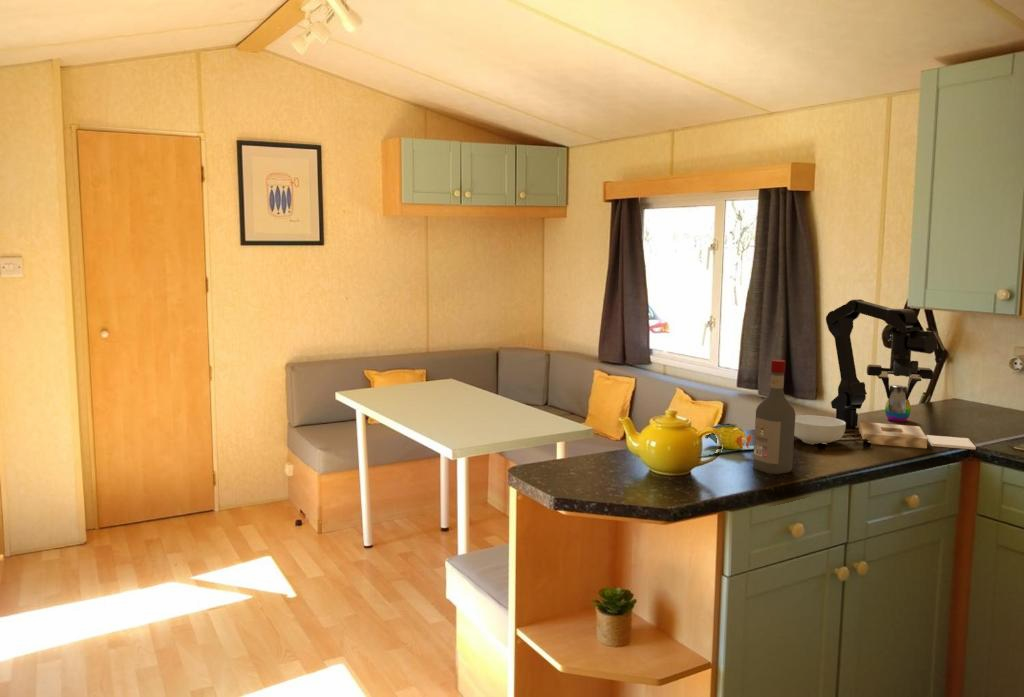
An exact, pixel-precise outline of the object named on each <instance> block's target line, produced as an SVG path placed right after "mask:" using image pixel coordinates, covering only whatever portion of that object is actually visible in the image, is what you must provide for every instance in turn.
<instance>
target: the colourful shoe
mask: <svg viewBox="0 0 1024 697" xmlns="http://www.w3.org/2000/svg"><path fill="white" fill-rule="evenodd" d="M710 428H716V429H717V430H718V432H719V433H720V435H721V439H722V444H723V449H722V452H721V453H720V454H723V453H724V454H725V453H729V452H735V451H748V450H749V451H750V450H754V445H750V443H751V441H752V439H753V438H754V437H755V434H753V435H752V434H751V433H750V434H749V435H746V434H745V431H743V430H742V429H741V428H740V427H739V425H738V426H737V425H736V424H735V423H722V424H721V423H720V424H713V425H711V426H710ZM746 436H747V437H746ZM704 437H705V439H710V440H712V442H714V443H715V444H716V445H717V438H716V436H715V435H713V434H709V435H706V436H705V435H704ZM717 449H718V448H712V449H709V450H708V449H707V450H702V451H703V452H702V457H701V458H705V457H708V456H711V455H712V456H713V455H715V454H714V453H715V452H716V450H717Z"/></svg>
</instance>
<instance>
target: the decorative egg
mask: <svg viewBox="0 0 1024 697" xmlns="http://www.w3.org/2000/svg"><path fill="white" fill-rule="evenodd" d="M888 402H889V398H887V401H886V402H885V408H884V412H885V415H886V418H887V419H888V420H889V421H891V422H895V423H896V422H897V423H898V422H899V423H904V422H906V421H907V420H908V419H909V418H910V415H911V411H912V410H911V409H912V408H911V406H912V405H911V402H910V400H909V399H908V400H906V408H905V413H893V412H889V411H888Z"/></svg>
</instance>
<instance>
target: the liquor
mask: <svg viewBox="0 0 1024 697" xmlns="http://www.w3.org/2000/svg"><path fill="white" fill-rule="evenodd" d="M770 365H771V367H770V372H771V373H770V376H771V377H770V388H769V389H770V390H769V392H768V395H767V396H766V397H765V398H764V399H763V400H762V401H761V402H760V403H759V404H758V405H757V407H756V409H755V422H754V423H755V424H754V437H753V438H754V439H753V441H754V442H753V446H754V449H753V457H752V467H753V468H754V470H757V471H760V472H763V473H766V474H771V475H772V474H773V475H781V474H785V473H790V472H792V470H793V464H794V463H793V461H794V460H793V459H794V448H795V446H794V442H795V436H794V430H795V416H796V411H795V408H794V406H793V405H792V404H791V403H790V402H789V400H788V399H787V398H786V396H785V391H784V386H785V385H784V384H785V373H786V360H784V359H772V360H771V364H770Z"/></svg>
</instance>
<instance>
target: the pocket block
mask: <svg viewBox="0 0 1024 697" xmlns="http://www.w3.org/2000/svg"><path fill="white" fill-rule="evenodd" d="M858 425H859V426H858V433H859V435H860V434H861V436H862V438H863V439H867V440H869V441H870V443H871V444H870V445H880V446H881V445H882V446H894V447H895V446H896V447H906V448H915V449H918V448H919V449H927V448H928V439H927V437H926V435H925V433H924V432H923V430H922V429H921V427H920V426H917V425H906V424H905V425H904V424H891V423H879V422H867V421H859V422H858ZM861 436H860V437H861Z"/></svg>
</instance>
